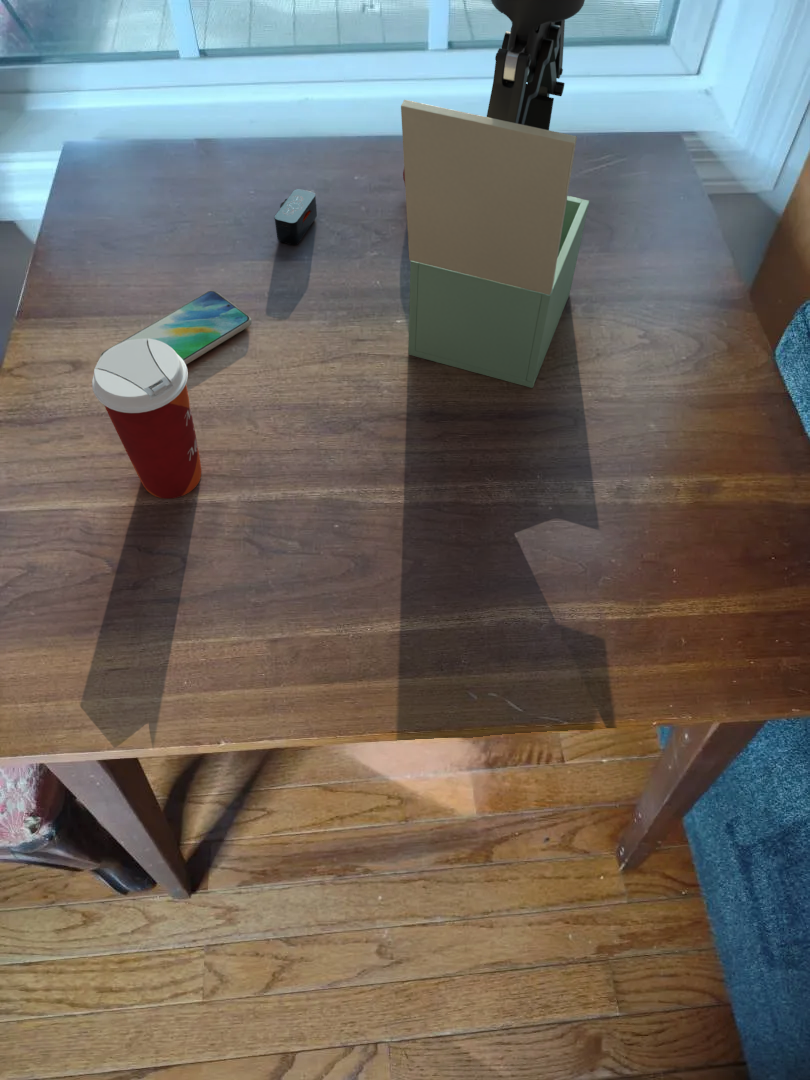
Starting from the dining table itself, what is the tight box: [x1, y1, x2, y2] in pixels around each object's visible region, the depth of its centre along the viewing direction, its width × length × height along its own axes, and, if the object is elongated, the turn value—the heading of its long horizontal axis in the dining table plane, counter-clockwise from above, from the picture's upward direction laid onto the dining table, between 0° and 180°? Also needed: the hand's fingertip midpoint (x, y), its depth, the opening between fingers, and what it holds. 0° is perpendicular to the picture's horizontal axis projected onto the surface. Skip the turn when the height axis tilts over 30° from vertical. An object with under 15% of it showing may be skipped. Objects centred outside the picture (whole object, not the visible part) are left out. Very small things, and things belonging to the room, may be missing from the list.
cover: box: [400, 99, 578, 295], centre depth 72 cm, size 16×14×1 cm
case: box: [407, 195, 590, 389], centre depth 89 cm, size 16×14×12 cm
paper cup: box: [91, 339, 202, 500], centre depth 75 cm, size 8×8×14 cm
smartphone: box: [99, 290, 252, 365], centre depth 91 cm, size 7×1×15 cm
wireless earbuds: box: [274, 188, 318, 246], centre depth 101 cm, size 5×7×3 cm, turn 160°
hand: (511, 199), depth 83 cm, fingers open, 13 cm apart
